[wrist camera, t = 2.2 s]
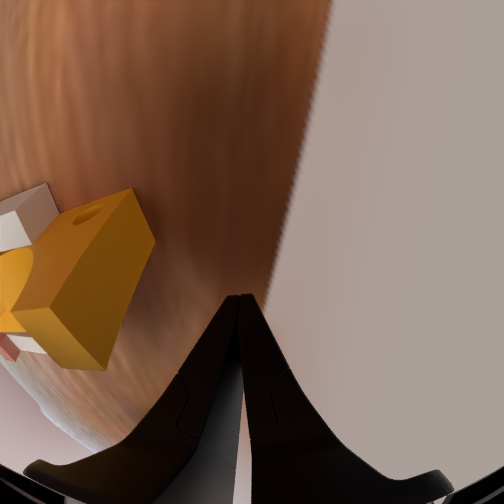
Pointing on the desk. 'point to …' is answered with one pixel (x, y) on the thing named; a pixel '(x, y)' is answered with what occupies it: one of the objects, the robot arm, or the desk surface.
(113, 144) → the desk surface
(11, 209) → the guide channel
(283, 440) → the robot arm
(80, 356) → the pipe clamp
